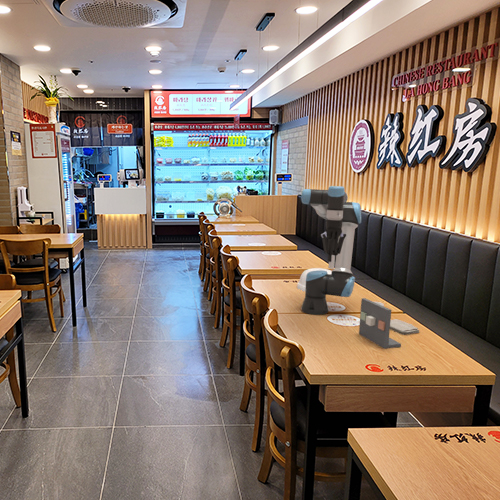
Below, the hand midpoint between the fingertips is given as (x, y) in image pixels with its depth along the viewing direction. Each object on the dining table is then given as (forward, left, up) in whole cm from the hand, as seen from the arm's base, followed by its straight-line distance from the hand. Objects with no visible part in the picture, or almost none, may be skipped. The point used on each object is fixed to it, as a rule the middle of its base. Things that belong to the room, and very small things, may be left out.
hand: (331, 268), depth 210 cm
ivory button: (+15, +14, -24) cm, 32 cm away
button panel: (+15, +19, -32) cm, 41 cm away
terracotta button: (+22, +16, -24) cm, 36 cm away
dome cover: (-83, +41, -33) cm, 98 cm away
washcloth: (+3, +41, -33) cm, 52 cm away
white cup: (-10, +35, -33) cm, 49 cm away
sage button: (+8, +16, -24) cm, 30 cm away
